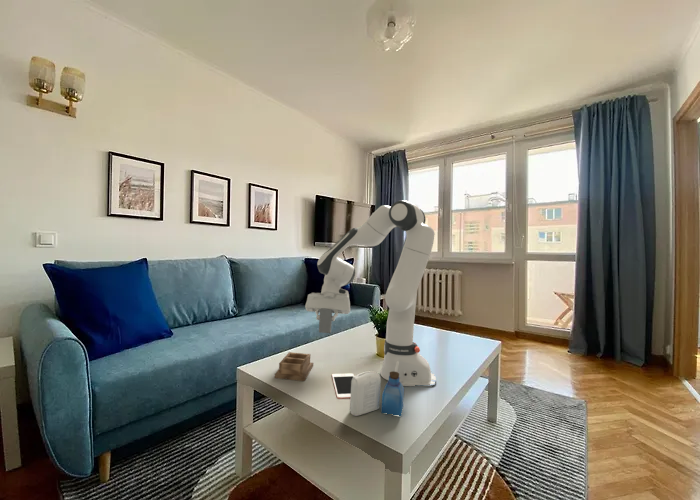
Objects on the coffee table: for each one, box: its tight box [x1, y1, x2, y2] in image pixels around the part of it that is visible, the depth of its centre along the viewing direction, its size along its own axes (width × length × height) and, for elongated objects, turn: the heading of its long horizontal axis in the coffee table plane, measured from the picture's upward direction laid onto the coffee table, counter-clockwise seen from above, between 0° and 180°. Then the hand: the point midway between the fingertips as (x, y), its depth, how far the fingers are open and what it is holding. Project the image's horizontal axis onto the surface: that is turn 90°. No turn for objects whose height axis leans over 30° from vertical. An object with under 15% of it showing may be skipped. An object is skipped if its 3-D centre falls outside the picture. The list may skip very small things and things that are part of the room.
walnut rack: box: [274, 351, 314, 382], centre depth 118 cm, size 12×14×6 cm
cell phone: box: [331, 373, 355, 400], centre depth 109 cm, size 9×18×1 cm, turn 10°
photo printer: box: [349, 370, 382, 417], centre depth 93 cm, size 10×4×12 cm, turn 124°
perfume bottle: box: [380, 371, 405, 417], centre depth 94 cm, size 6×6×12 cm
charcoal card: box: [318, 308, 333, 334], centre depth 126 cm, size 5×2×10 cm, turn 84°
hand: (325, 320), depth 125 cm, fingers closed on charcoal card, 5 cm apart
